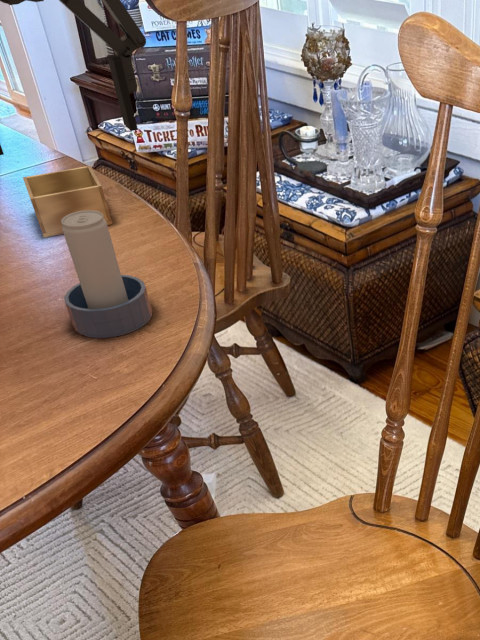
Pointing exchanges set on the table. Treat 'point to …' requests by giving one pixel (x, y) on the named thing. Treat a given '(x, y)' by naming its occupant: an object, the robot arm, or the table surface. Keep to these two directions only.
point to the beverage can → (94, 259)
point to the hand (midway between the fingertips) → (66, 139)
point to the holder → (65, 197)
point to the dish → (110, 311)
